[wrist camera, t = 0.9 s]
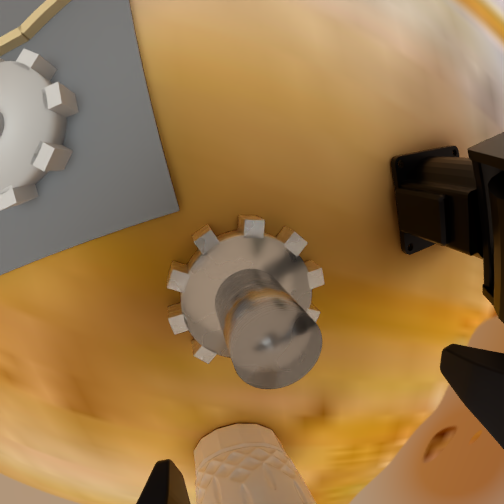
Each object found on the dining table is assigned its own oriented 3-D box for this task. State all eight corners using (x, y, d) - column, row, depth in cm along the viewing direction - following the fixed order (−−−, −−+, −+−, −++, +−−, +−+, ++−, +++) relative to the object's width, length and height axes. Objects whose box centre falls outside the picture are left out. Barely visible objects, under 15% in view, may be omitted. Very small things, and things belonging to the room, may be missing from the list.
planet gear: (298, 197, 17) (362, 216, 11) (322, 327, 20) (376, 384, 14) (145, 244, 16) (130, 290, 10) (194, 371, 19) (208, 449, 13)
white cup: (165, 442, 20) (178, 560, 10) (262, 400, 21) (316, 517, 11) (216, 486, 22) (241, 580, 13) (298, 452, 23) (345, 543, 14)
